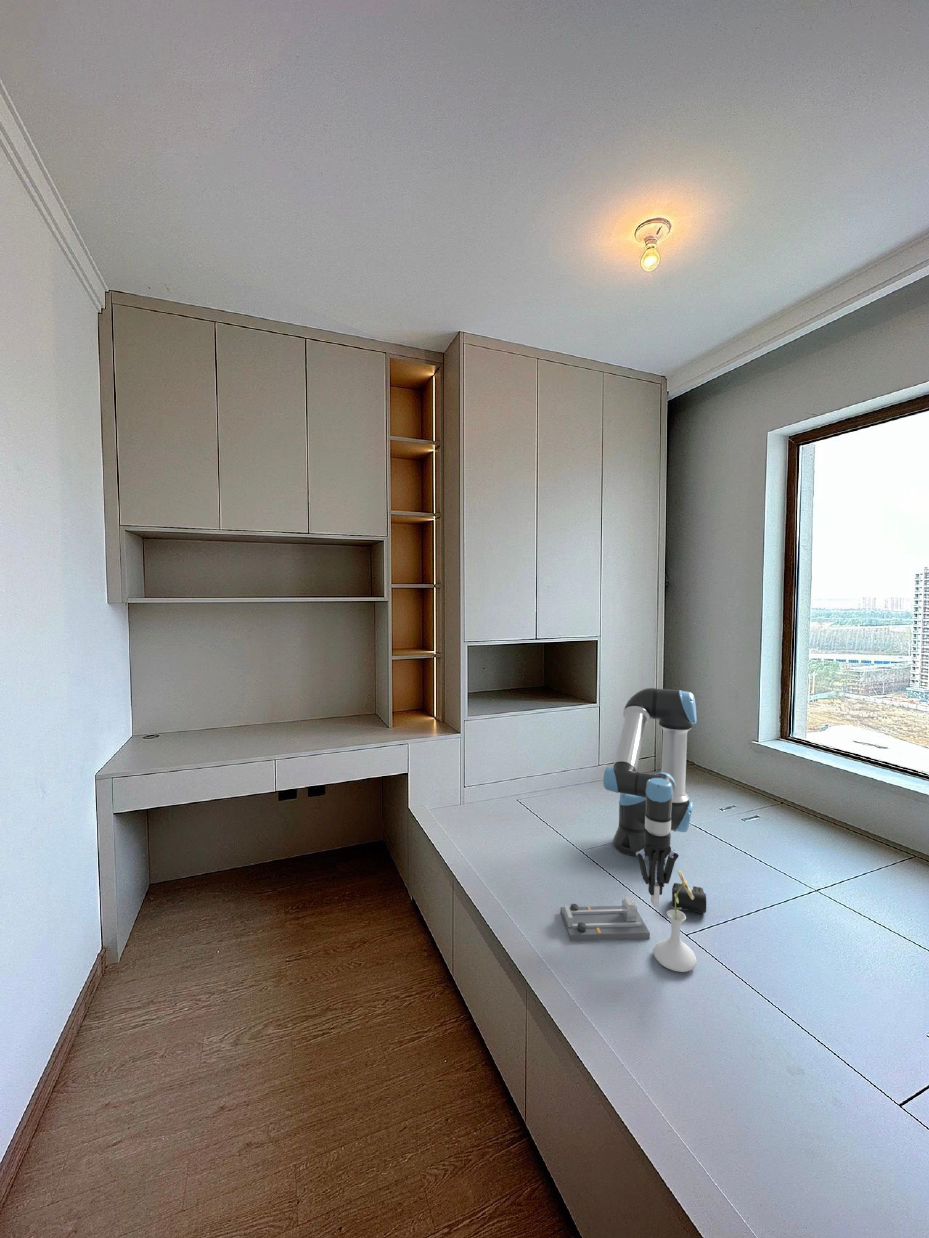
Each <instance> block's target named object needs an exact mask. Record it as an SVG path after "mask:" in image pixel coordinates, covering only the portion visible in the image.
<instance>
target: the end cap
mask: <svg viewBox="0 0 929 1238" xmlns="http://www.w3.org/2000/svg"><path fill="white" fill-rule="evenodd" d="M681 884H682V883H679V882H678V883H677V882H674V883H673V885H672V891H671V906H672V908H673V909H675V896H674V894H676V893H677V891H678V890H679V888H680V887H681ZM691 891H692V892H691V893H692V894H693V896H694V898H693V899H694V900H692V899H691V898H690V896H689V895H688V893H687V891H686V889H685V888H683V887H682V888H681V889H680V891H679V893H678V895H677V897H678V900H679V903H677V902H676V908H682V909H681V910H684V911H687V912H694V913H698V914H706V913H707V894H706V893H705V891H704V888H703V887H700V886H695V885H694V886H692V889H691Z"/></svg>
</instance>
